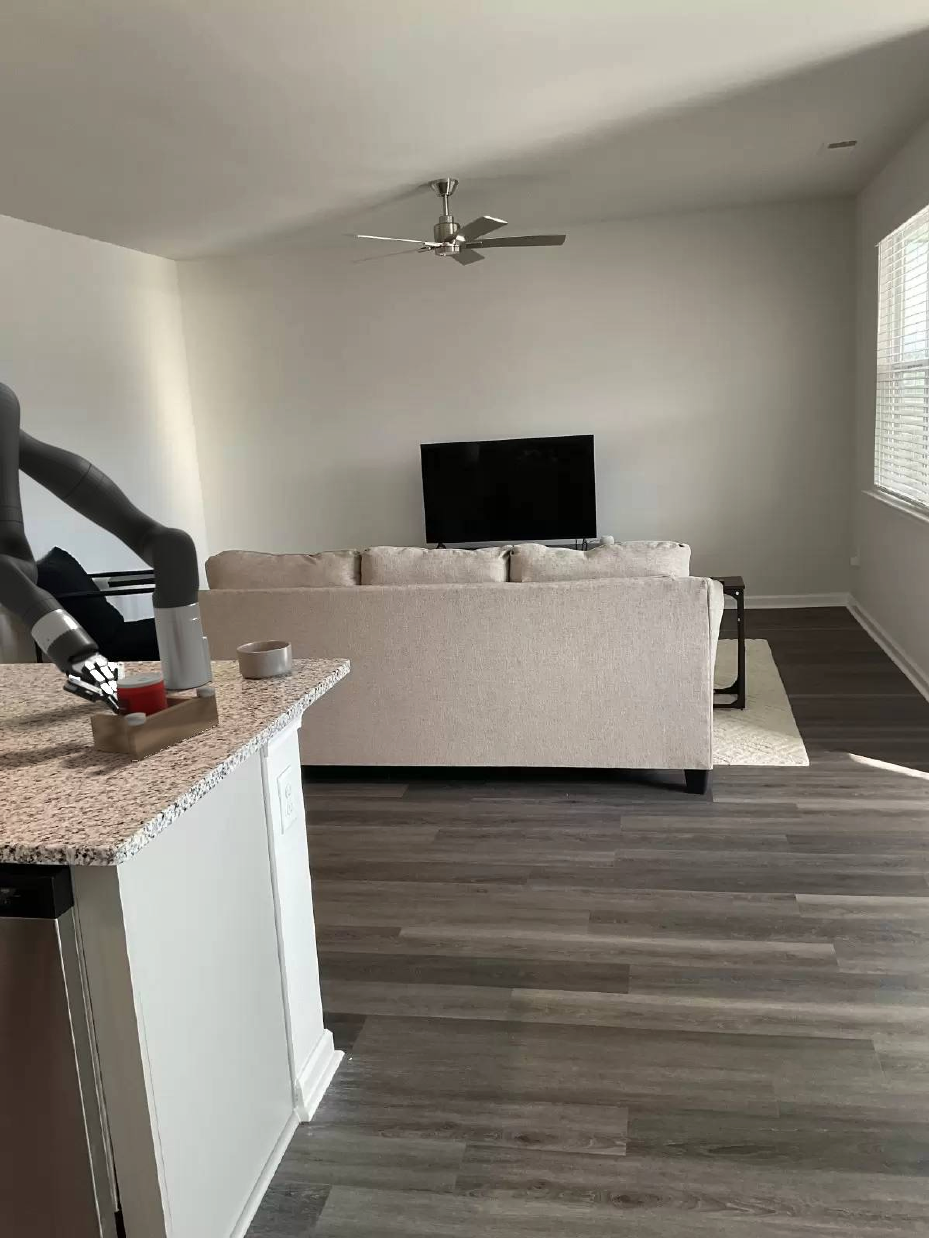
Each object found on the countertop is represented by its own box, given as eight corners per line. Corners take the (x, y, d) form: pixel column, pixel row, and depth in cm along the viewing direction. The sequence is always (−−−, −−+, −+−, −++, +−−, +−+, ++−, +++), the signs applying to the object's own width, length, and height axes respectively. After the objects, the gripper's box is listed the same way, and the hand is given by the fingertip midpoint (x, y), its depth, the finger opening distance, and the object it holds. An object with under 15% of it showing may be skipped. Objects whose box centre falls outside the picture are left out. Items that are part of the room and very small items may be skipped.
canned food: (180, 733, 173) (171, 672, 171) (154, 748, 166) (144, 684, 164) (142, 733, 175) (133, 672, 173) (114, 747, 168) (105, 684, 166)
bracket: (80, 756, 164) (74, 714, 163) (166, 721, 182) (160, 683, 181) (141, 762, 158) (135, 718, 157) (223, 725, 176) (218, 686, 175)
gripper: (42, 634, 167) (105, 708, 164) (102, 619, 179) (162, 688, 176) (25, 664, 171) (86, 737, 167) (84, 647, 182) (143, 715, 179)
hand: (125, 712), depth 172 cm, fingers closed
